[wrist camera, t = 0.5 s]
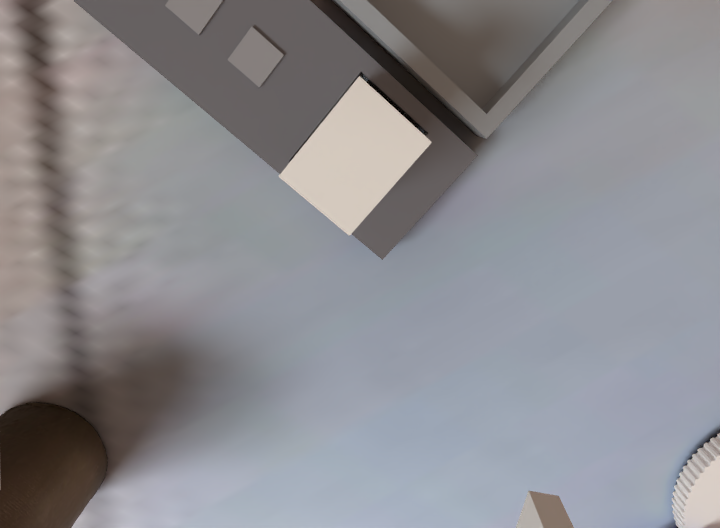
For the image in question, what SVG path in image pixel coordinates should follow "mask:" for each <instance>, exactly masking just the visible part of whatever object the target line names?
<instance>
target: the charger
mask: <svg viewBox="0 0 720 528" xmlns="http://www.w3.org/2000/svg"><path fill="white" fill-rule="evenodd" d="M431 143H432V142H431V141H430V140H429V139H428V138H427V137H426V136H425V135H424V134H422V133H421V132H420V131H419V130H418V129H417V128H416V127H415V126H414V125H413V124H412V123H410V122H409V121H408V120H407V119H406V118H405V117H404V116H403V115H402V114H401V113H399V112H398V111H397V110H396V109H395V108H394V107H393V106H392V105H391V104H390V103H388V102H387V101H386V100H385V99H384V98H383V97H382V96H381V95H380V94H379V93H378V92H376V91H375V90H374V89H373V88H372V87H371V86H370V85H369V84H368V83H367V82H365V81H364V80H363V79H362V78H361V77H360V76H359V77H358V78H357V80H356V81H355V82H354V83H353V85H352V86H351V87H350V88H349V90H348V91H347V92H346V93H345V94H344V96H343V97H342V98H341V99H340V101H339V102H338V103H337V104H336V106H335V107H334V108H333V109H332V111H331V112H330V113H329V114H328V116H327V117H326V118H325V119H324V121H323V122H322V123H321V124H320V125H319V127H318V128H317V129H316V130H315V132H314V133H313V134H312V135H311V137H310V138H309V139H308V140H307V142H306V143H305V144H304V145H303V147H302V148H301V149H300V150H299V152H298V153H297V154H296V155H295V156H294V158H293V159H292V160H291V161H290V163H289V164H288V165H287V166H286V168H285V169H284V170H283V171H282V173H281V174H280V175H279V176H278V177H280V178H281V179H282V180H283V181H284V182H286V183H287V184H288V185H289V186H290V187H292V188H293V189H294V190H295V191H296V192H298V193H299V194H300V195H301V196H302V197H304V198H305V199H306V200H307V201H308V202H310V203H311V204H312V205H313V206H314V207H316V208H317V209H318V210H319V211H320V212H322V213H323V214H324V215H325V216H326V217H328V218H329V219H330V220H331V221H332V222H333V223H335V224H336V225H337V226H338V227H339V228H341V229H342V230H343V231H344V232H345V233H347V234H348V235H349V236H350V235H351V234H352V232H353V231H354V230H355V229H356V228H357V227H358V226H359V225H360V223H361V222H362V221H363V220H364V219H365V218H366V217H367V215H368V214H369V213H370V212H371V211H372V210H373V209H374V207H375V206H376V205H377V204H378V203H379V202H380V201H381V200H382V198H383V197H384V196H385V195H386V194H387V193H388V192H389V190H390V189H391V188H392V187H393V186H394V185H395V184H396V182H397V181H398V180H399V179H400V178H401V177H402V176H403V175H404V173H405V172H406V171H407V170H408V169H409V168H410V167H411V165H412V164H413V163H414V162H415V161H416V160H417V159H418V158H419V156H420V155H421V154H422V153H423V152H424V151H425V150H426V148H427V147H428V146H429V145H430V144H431Z"/></svg>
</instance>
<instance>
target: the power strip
mask: <svg viewBox="0 0 720 528" xmlns="http://www.w3.org/2000/svg"><path fill="white" fill-rule="evenodd" d="M74 2H76V3H77V4H78V5H79V6H80V7H82V8H83V9H84V10H85V11H86V12H88V13H89V14H90V15H91V16H92V17H93V18H95V19H96V20H97V21H98V22H99V23H101V24H102V25H103V26H104V27H105V28H107V29H108V30H109V31H110V32H111V33H113V34H114V35H115V36H116V37H117V38H119V39H120V40H121V41H122V42H123V43H124V44H126V45H127V46H128V47H129V48H130V49H132V50H133V51H134V52H135V53H136V54H138V55H139V56H140V57H141V58H142V59H144V60H145V61H146V62H147V63H148V64H150V65H151V66H152V67H153V68H154V69H156V70H157V71H158V72H159V73H160V74H161V75H163V76H164V77H165V78H166V79H167V80H169V81H170V82H171V83H172V84H173V85H175V86H176V87H177V88H178V89H179V90H181V91H182V92H183V93H184V94H185V95H187V96H188V97H189V98H190V99H191V100H192V101H194V102H195V103H196V104H197V105H198V106H200V107H201V108H202V109H203V110H204V111H206V112H207V113H208V114H209V115H210V116H212V117H213V118H214V119H215V120H216V121H218V122H219V123H220V124H221V125H222V126H223V127H225V128H226V129H227V130H228V131H229V132H231V133H232V134H233V135H234V136H235V137H237V138H238V139H239V140H240V141H241V142H243V143H244V144H245V145H246V146H247V147H249V148H250V149H251V150H252V151H253V152H255V153H256V154H257V155H258V156H259V157H260V158H262V159H263V160H264V161H265V162H266V163H268V164H269V165H270V166H271V167H272V168H274V169H275V170H276V171H277V172H278V173H280V174H281V173H282V171H283V170H284V169H285V168H286V166H287V165H288V164H289V163H290V161H291V160H292V159H293V158H294V156H295V155H296V154H297V153H298V152H299V150H300V149H301V148H302V147H303V145H304V144H305V143H306V142H307V140H308V139H309V138H310V137H311V135H312V134H313V133H314V132H315V130H316V129H317V128H318V127H319V125H320V124H321V123H322V122H323V121H324V119H325V118H326V117H327V116H328V114H329V113H330V112H331V111H332V109H333V108H334V107H335V106H336V104H337V103H338V102H339V101H340V99H341V98H342V97H343V96H344V94H345V93H346V92H347V91H348V90H349V88H350V87H351V86H352V85H353V83H354V82H355V81H356V80H357V78H358V77H359V76H360V75H361V74H363V75H364V76H365V77H366V78H367V79H368V80H369V81H371V82H372V83H373V84H374V85H375V86H376V87H377V88H378V89H379V90H380V91H382V92H383V93H384V94H385V95H386V96H387V97H388V98H389V99H390V100H391V101H392V102H394V103H395V104H396V105H397V106H398V107H399V108H400V109H401V110H402V111H403V112H404V113H406V114H407V115H408V116H409V117H410V118H411V119H412V120H413V121H414V122H415V123H416V124H418V125H419V126H420V127H421V128H422V129H423V130H424V131H425V132H424V135H425V136H426V137H427V138H428V139H429V140H430V141H431V142H432V143H431V144H430V145H429V146H428V147H427V148H426V150H425V151H424V152H423V153H422V154H421V155H420V156H419V158H418V159H417V160H416V161H415V162H414V163H413V164H412V165H411V167H410V168H409V169H408V170H407V171H406V172H405V173H404V175H403V176H402V177H401V178H400V179H399V180H398V181H397V182H396V184H395V185H394V186H393V187H392V188H391V189H390V190H389V192H388V193H387V194H386V195H385V196H384V197H383V198H382V200H381V201H380V202H379V203H378V204H377V205H376V206H375V207H374V209H373V210H372V211H371V212H370V213H369V214H368V215H367V217H366V218H365V219H364V220H363V221H362V222H361V223H360V225H359V226H358V227H357V228H356V229H355V230H354V231H353V232H352V235H354V236H355V237H356V238H357V239H358V240H359V241H361V242H362V243H363V244H364V245H365V246H367V247H368V248H369V249H370V250H371V251H373V252H374V253H375V254H376V255H377V256H379V257H380V258H381V259H382V260H383V259H384V257H385V256H386V255H387V254H388V253H389V252H390V251H391V250H392V249H393V248H394V247H395V245H396V244H397V243H398V242H399V241H400V240H401V239H402V238H403V237H404V236H405V234H406V233H407V232H408V231H409V230H410V229H411V228H412V227H413V226H414V225H415V224H416V222H417V221H418V220H419V219H420V218H421V217H422V216H423V215H424V214H425V213H426V212H427V210H428V209H429V208H430V207H431V206H432V205H433V204H434V203H435V202H436V201H437V199H438V198H439V197H440V196H441V195H442V194H443V193H444V192H445V191H446V190H447V189H448V187H449V186H450V185H451V184H452V183H453V182H454V181H455V180H456V179H457V178H458V177H459V175H460V174H461V173H462V172H463V171H464V170H465V169H466V168H467V167H468V166H469V165H470V163H471V162H472V161H473V160H474V159H475V158H476V157H477V156H478V155H477V154H476V153H475V152H473V151H472V150H471V149H470V148H469V147H468V146H467V145H466V144H465V143H464V142H463V141H462V140H460V139H459V138H458V137H457V136H456V135H455V134H454V133H453V132H452V131H451V130H450V129H449V128H448V127H446V126H445V125H444V124H443V123H442V122H441V121H440V120H439V119H438V118H437V117H436V116H435V115H433V114H432V113H431V112H430V111H429V110H428V109H427V108H426V107H425V106H424V105H423V104H422V103H421V102H419V101H418V100H417V99H416V98H415V97H414V96H413V95H412V94H411V93H410V92H409V91H408V90H406V89H405V88H404V87H403V86H402V85H401V84H400V83H399V82H398V81H397V80H396V79H395V78H394V77H392V76H391V75H390V74H389V73H388V72H387V71H386V70H385V69H384V68H383V67H382V66H381V65H379V64H378V63H377V62H376V61H375V60H374V59H373V58H372V57H371V56H370V55H369V54H368V53H367V52H365V51H364V50H363V49H362V48H361V47H360V46H359V45H358V44H357V43H356V42H355V41H354V40H352V39H351V38H350V37H349V36H348V35H347V34H346V33H345V32H344V31H343V30H342V29H341V28H340V27H338V26H337V25H336V24H335V23H334V22H333V21H332V20H331V19H330V18H329V17H328V16H327V15H326V14H324V13H323V12H322V11H321V10H320V9H319V8H318V7H317V6H316V5H315V4H314V3H313V2H311V1H310V0H74Z"/></svg>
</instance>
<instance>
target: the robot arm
mask: <svg viewBox="0 0 720 528" xmlns="http://www.w3.org/2000/svg"><path fill="white" fill-rule="evenodd" d="M0 490H1V483H0ZM516 528H574V527H573V525H572V523H571V521H570V519H569V517H568V515H567V513H566V510H565V508H564V506H563V504H562V502H561V500H560V498H559V496H555V495H550V494H544V493H538V492H533V491H528V494H527V497H526V500H525V503H524V506H523V509H522V512H521V514H520V517H519V520H518V523H517V526H516Z"/></svg>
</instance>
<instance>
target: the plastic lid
mask: <svg viewBox="0 0 720 528" xmlns="http://www.w3.org/2000/svg"><path fill="white" fill-rule="evenodd" d="M697 451H698V452H697V453H696V454H693V455H692V457H693V458H692V459H691V460H688V461H687V463H688V464H687V465H686V466H684V467H683V469H684V470H683V472H680V474H679V475H680V478H678V479H677V480H676V482H677V485H675V486H674V488H675V491H674V492H673V495H674V498H672V501H673V503H674V504H672V508H673V509H674V510H673V511H672V512H673V514H674V520H675V521H676V525H677V526H678V528H720V433H719V434H717V437H716V438H711V439H710V442H709V443H707V442H706V443H705V444H704V447H703V448H699V449H698V450H697Z"/></svg>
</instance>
